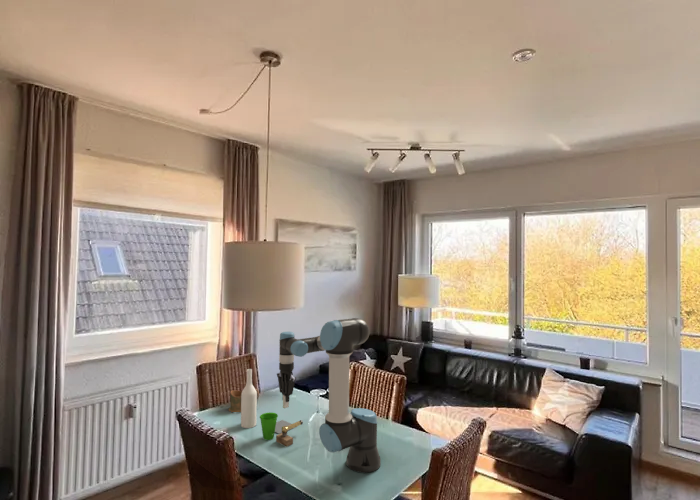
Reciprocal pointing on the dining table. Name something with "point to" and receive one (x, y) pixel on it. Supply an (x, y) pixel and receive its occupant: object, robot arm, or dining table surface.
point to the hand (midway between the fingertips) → (285, 407)
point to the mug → (236, 401)
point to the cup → (268, 425)
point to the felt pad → (279, 426)
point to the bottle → (248, 403)
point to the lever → (291, 426)
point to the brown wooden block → (284, 439)
